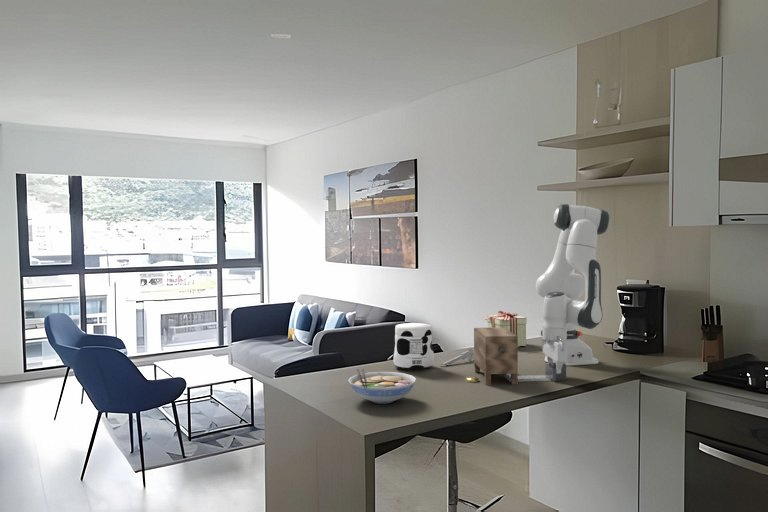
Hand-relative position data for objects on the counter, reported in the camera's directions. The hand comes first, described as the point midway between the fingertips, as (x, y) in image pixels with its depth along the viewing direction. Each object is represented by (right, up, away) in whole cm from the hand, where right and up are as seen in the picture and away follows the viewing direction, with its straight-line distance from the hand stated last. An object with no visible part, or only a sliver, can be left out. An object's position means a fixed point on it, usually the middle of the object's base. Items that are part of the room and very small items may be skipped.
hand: (554, 370), depth 224 cm
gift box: (-4, -2, +71) cm, 72 cm away
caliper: (-34, -3, +30) cm, 45 cm away
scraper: (-7, -3, -1) cm, 8 cm away
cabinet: (-22, -4, +3) cm, 23 cm away
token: (-32, -4, -2) cm, 32 cm away
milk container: (-53, -4, +21) cm, 57 cm away
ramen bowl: (-66, -5, -29) cm, 73 cm away
